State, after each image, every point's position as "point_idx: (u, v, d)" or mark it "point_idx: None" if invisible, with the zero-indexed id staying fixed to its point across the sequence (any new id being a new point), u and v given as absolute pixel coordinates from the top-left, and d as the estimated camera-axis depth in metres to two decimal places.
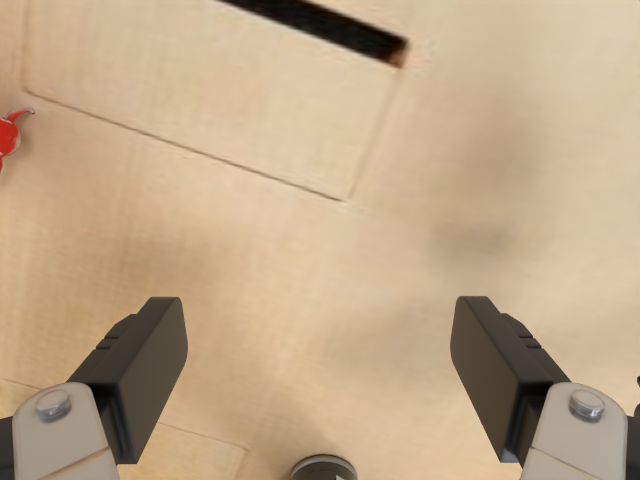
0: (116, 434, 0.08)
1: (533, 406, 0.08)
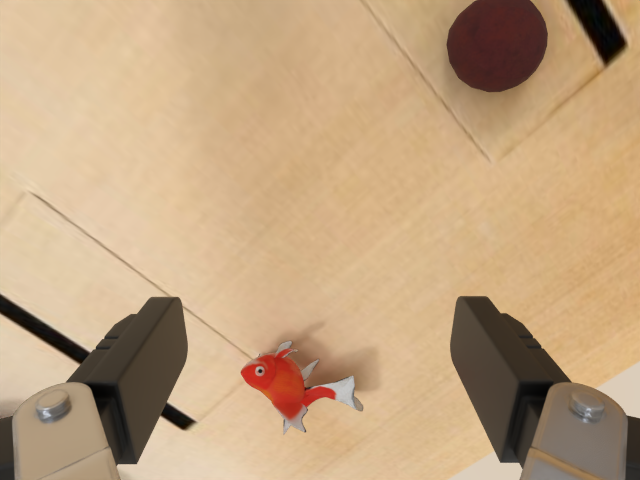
0: (116, 434, 0.08)
1: (533, 406, 0.08)
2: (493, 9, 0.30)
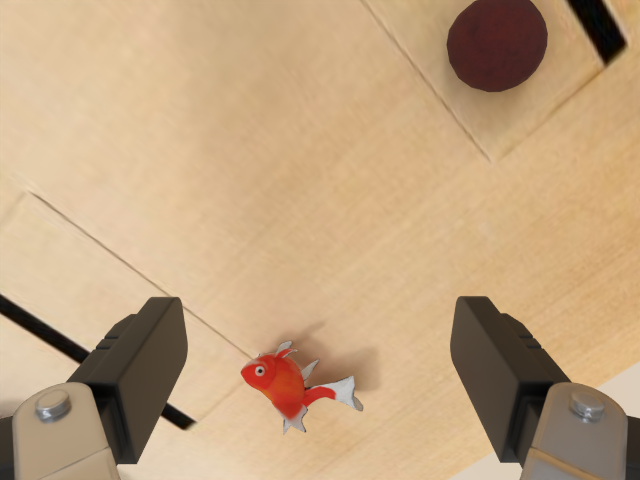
0: (116, 434, 0.08)
1: (533, 406, 0.08)
2: (493, 9, 0.30)
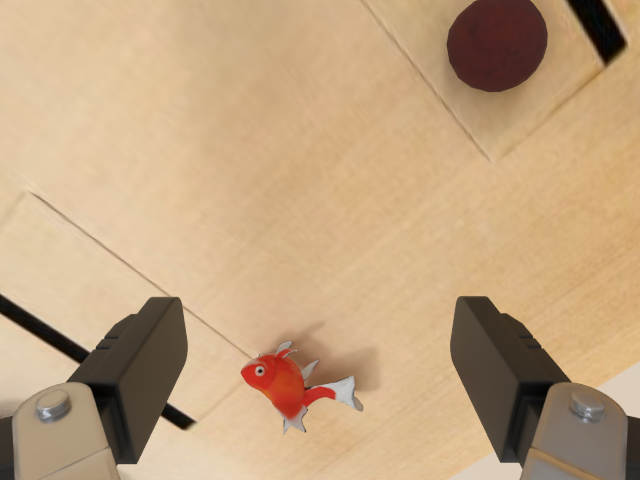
0: (116, 434, 0.08)
1: (533, 406, 0.08)
2: (493, 9, 0.30)
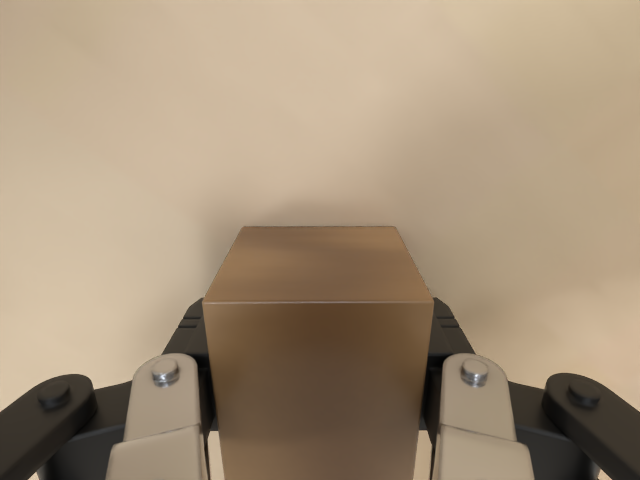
0: (210, 402, 0.09)
1: (435, 375, 0.09)
2: None
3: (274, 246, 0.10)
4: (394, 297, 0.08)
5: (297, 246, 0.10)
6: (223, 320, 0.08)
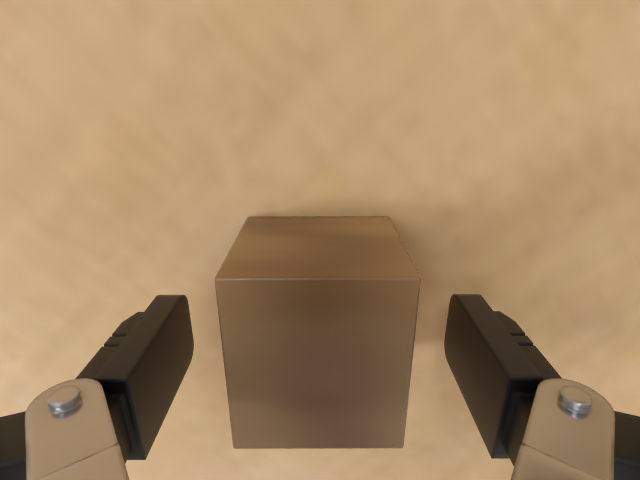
0: (126, 430, 0.08)
1: (523, 402, 0.08)
2: None
3: (277, 233, 0.11)
4: (385, 275, 0.09)
5: (298, 233, 0.11)
6: (233, 295, 0.09)
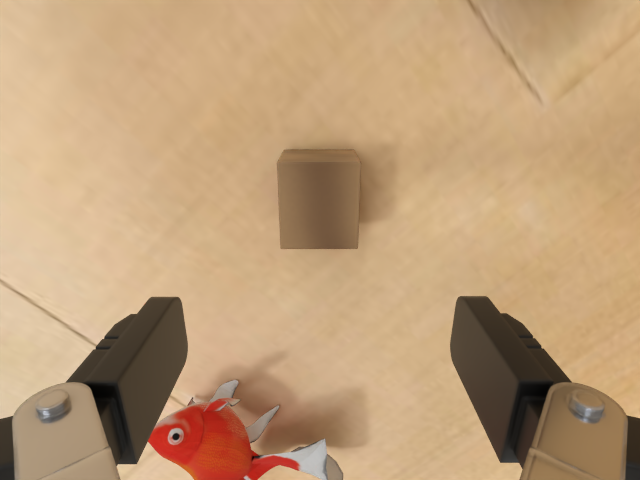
0: (116, 434, 0.08)
1: (533, 406, 0.08)
2: None
3: (300, 153, 0.24)
4: (346, 161, 0.22)
5: (310, 153, 0.24)
6: (284, 170, 0.22)
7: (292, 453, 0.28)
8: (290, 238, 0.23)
